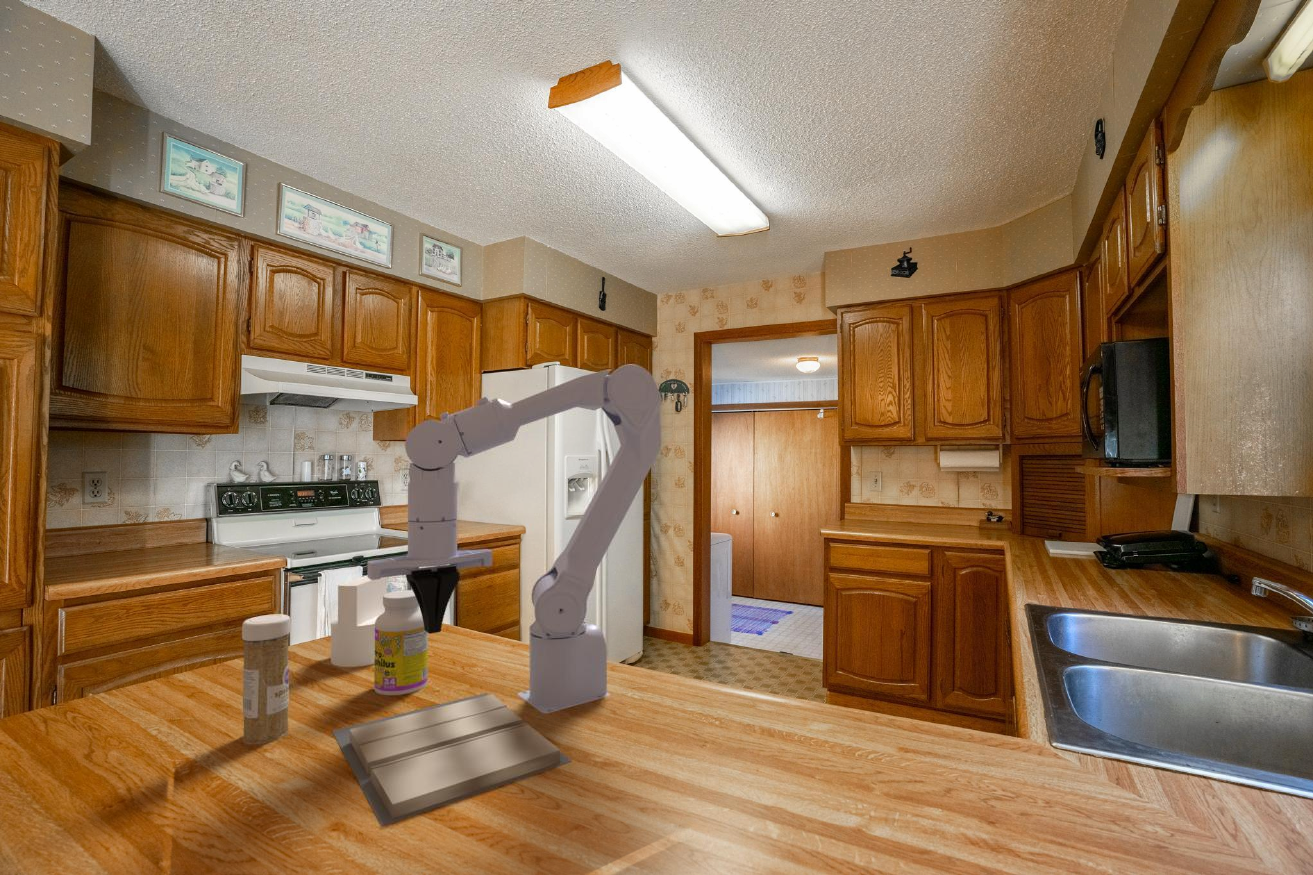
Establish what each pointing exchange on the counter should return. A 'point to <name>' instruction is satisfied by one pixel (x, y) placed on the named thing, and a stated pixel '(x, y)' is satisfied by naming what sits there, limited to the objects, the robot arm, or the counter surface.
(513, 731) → the plank
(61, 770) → the counter surface
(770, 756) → the counter surface
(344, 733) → the plate
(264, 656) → the sprinkles bottle
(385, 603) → the supplement bottle
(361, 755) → the loose plank
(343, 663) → the base with upright slab
